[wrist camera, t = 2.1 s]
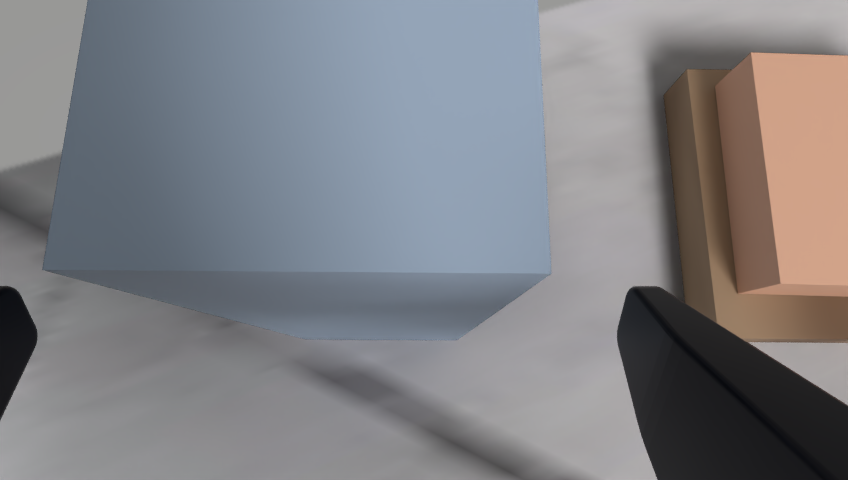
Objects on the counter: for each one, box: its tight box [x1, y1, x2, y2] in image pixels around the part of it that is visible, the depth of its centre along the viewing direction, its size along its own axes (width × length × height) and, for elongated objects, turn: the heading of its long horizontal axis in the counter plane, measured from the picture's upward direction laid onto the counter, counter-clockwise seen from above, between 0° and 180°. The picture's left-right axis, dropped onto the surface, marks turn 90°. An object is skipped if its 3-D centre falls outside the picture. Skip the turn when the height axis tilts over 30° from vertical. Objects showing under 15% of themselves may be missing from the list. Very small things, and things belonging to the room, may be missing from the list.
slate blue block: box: [42, 0, 551, 340], centre depth 12 cm, size 5×5×13 cm
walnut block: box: [664, 69, 848, 343], centre depth 19 cm, size 9×9×2 cm
